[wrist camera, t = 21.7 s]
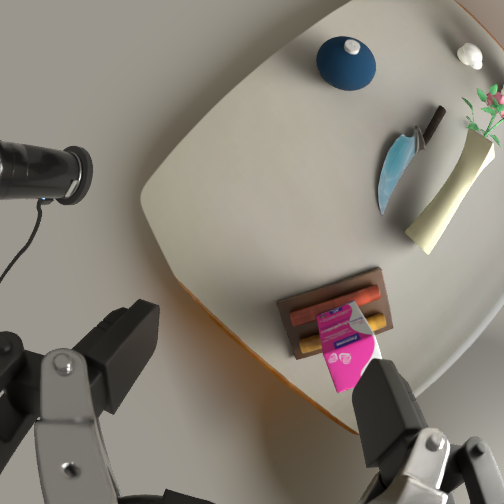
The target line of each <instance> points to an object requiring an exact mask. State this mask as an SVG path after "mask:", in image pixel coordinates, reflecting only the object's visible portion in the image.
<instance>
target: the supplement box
mask: <svg viewBox="0 0 504 504" xmlns="http://www.w3.org/2000/svg"><path fill="white" fill-rule="evenodd" d="M317 322H318V327H319V333H320V339H321V345H322V352H323V355H324V358H325V361H326V363H327V366H328V369H329V372H330V374H331V377H332V380H333V383H334V385H335V388H336V391H337V393H339V392H342V391H345V390H348V389H351V388H353V387H355V386H356V384H357V382H358V381H359V379H360V378H361V376H362V374H363V373H364V371H365V369H366V367H367V366H368V364H369V362H370V361H371V360H372V359H373V358H378V359H382V357H381V354H380V351H379V347H378V344H377V341H376V338H375V334H374V332H373V331H372V329H371V327H370V326H369V324H368V322H367V321H366V319H365V317H364V316H363V314H362V312H361V311H360V309H359V307H358V306H357V304H356V302H355V301H354V300H353V301H351V302H349V303H347V304H345V305H343V306H340V307H338V308H335V309H333V310H330V311H328V312H325V313H322V314H319V315H317Z"/></svg>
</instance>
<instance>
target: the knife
mask: <svg viewBox="0 0 504 504" xmlns="http://www.w3.org/2000/svg"><path fill="white" fill-rule="evenodd" d="M445 113H446V110H445V109H444V108H443V107H442V106H439V107H438V109H437V110H436V112H435V114H434V116H433V118H432V119H431V121H430V123H429V125H428V127H427V128H426V130H425V132H424V134H423V135H422V133H421V131H420V129H419V128H418V126H417V125H416V126H415V130H414V135H413V136H412V137H406V136H405V135H403V134H402V135H401V136H400V137H399V138H398V139H397V140H396V141H395V142H394V144H393V145H392V147H391V148H390V150H389V152H388V154H387V156H386V159H385V162H384V165H383V168H382V172H381V175H380V181H379V187H378V200H379V207H380V210H381V213H382V215H383V213H384V210H385V207H386V205H387V202H388V200H389V197H390V195H391V193H392V192H393V190H394V188H395V186H396V184H397V182H398V180H399V179H400V177H401V175H402V173H403V171H404V170H405V168H406V167H407V165H408V163H409V162H410V160H411V159H412V157H413V156H414V154H416V153H418V151H420V150H421V149H425V146H426V145H427V143H428V142H429V140H430V138H431V137H432V135H433V133H434V132H435V130H436V128H437V127H438V125H439V123H440V122H441V120H442V118H443V117H444V115H445Z"/></svg>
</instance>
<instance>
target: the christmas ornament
mask: <svg viewBox="0 0 504 504" xmlns="http://www.w3.org/2000/svg"><path fill="white" fill-rule="evenodd" d="M316 62H317V67H318V70H319V72H320V74H321V76H322V77H323V78H324V79H325V81H327V82H328V83H329V84H330V85H332V86H334V87H336V88H338V89H341V90H347V91H353V90H358V89H361V88H363V87H365V86H366V85H368V84H369V83H370V82H371V81H372V79H373V77H374V75H375V71H376V62H375V59H374V56H373V54H372V52H371V51H370V49H369V48H368V47H367V46H366V45H365V44H363V43H362V42H360V41H359V40H357V39H354V38H351V37H345V36H340V37H334V38H331V39H329V40H328V41H326V42H325V43H324V44H323V45H322V46H321V47H320V49H319V51H318V53H317V58H316Z"/></svg>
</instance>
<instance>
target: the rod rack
mask: <svg viewBox="0 0 504 504" xmlns="http://www.w3.org/2000/svg"><path fill="white" fill-rule="evenodd" d="M353 300H354V301H355V302H356V304H357V306H358V307H359V309H360V311H361V312H362V314H363V316H364V317H365V319H366V321H367V322H368V324H369V326H370V327H371V329H372V331H373V332H374V334H375V335H377V334H379V333H382V332H385V331H387V330H390V329H392V328H393V323H392V317H391V312H390V307H389V301H388V296H387V292H386V287H385V282H384V278H383V274H382V269H381V268H380V267H379V268H376V269H373V270H370V271H368V272H365V273H362V274H359V275H356V276H353V277H351V278H348V279H345V280H342V281H339V282H336V283H333V284H330V285H327V286H324V287H321V288H318V289H315V290H312V291H308V292H305V293H302V294H299V295H296V296H293V297H289V298H286V299H283V300H280V301H277V306H278V309H279V312H280V315H281V317H282V320H283V323H284V326H285V329H286V332H287V335H288V337H289V340H290V343H291V346H292V349H293V352H294V355H295V358H296V360H298V359H301V358H305V357H309V356H312V355H316V354H319V353H322V345H321V339H320V333H319V327H318V322H317V315H319V314H322V313H325V312H328V311H330V310H333V309H335V308H338V307H340V306H343V305H345V304H347V303H349V302H351V301H353Z"/></svg>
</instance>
